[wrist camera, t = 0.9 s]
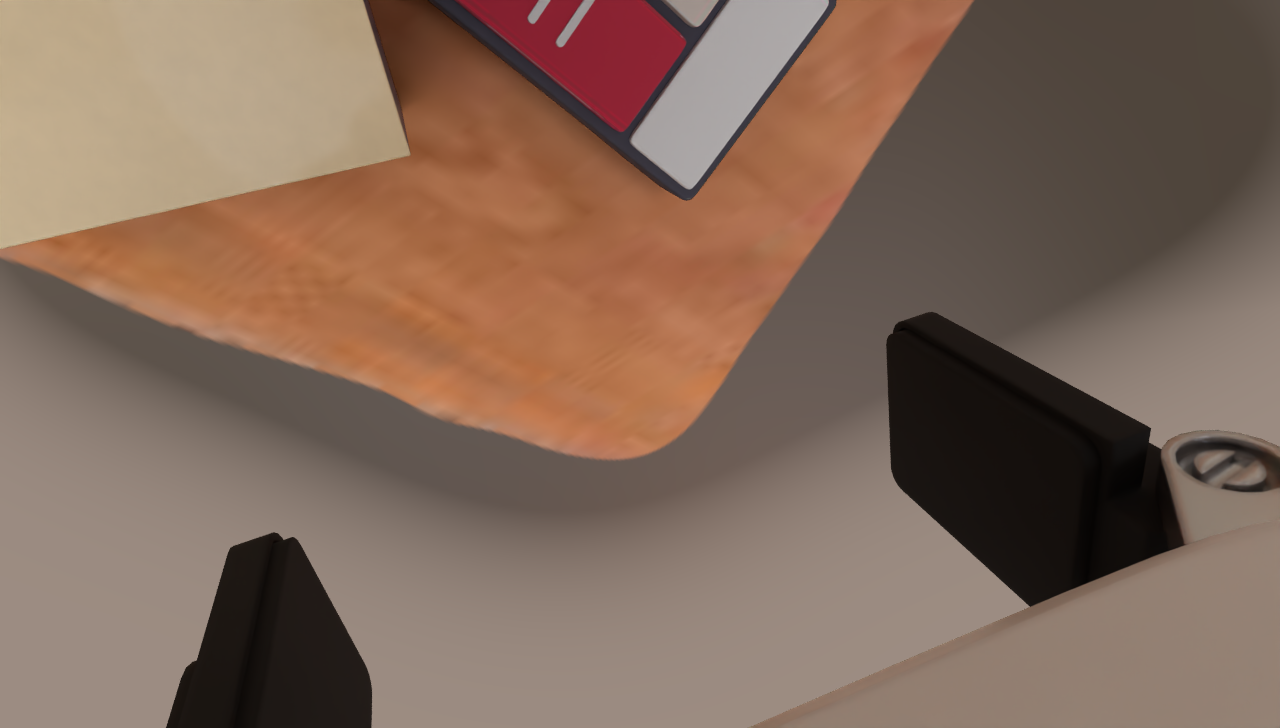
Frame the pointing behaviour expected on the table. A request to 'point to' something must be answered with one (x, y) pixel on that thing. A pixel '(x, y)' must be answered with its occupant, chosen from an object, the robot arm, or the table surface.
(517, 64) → the calculator
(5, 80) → the step rack
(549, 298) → the table surface
